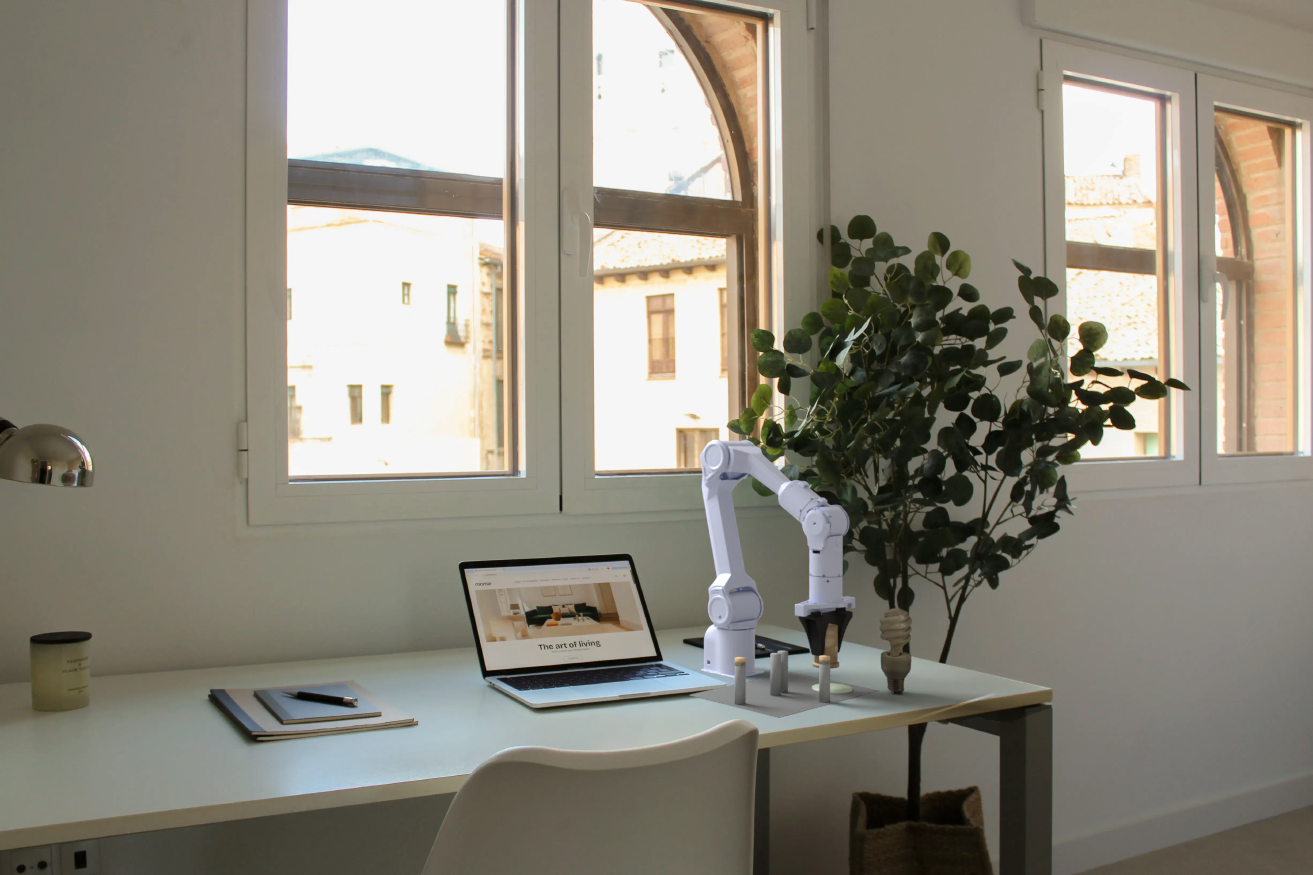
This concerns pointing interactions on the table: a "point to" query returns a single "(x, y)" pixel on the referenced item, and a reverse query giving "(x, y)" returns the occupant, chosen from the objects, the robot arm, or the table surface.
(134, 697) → the table surface
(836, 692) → the pad
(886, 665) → the light bulb
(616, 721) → the table surface
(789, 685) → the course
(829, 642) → the cylinder
